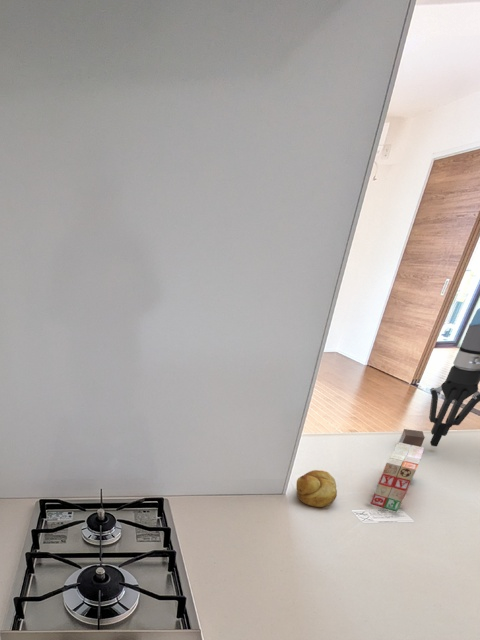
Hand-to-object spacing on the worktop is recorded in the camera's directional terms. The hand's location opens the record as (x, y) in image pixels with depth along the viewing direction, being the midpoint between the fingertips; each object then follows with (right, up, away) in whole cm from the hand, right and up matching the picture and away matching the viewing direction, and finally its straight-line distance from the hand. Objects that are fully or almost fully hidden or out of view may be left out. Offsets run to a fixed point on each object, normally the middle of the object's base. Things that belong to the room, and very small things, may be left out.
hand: (433, 444), depth 134 cm
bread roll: (-46, -17, -18) cm, 52 cm away
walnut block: (-5, -1, +3) cm, 6 cm away
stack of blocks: (-24, -15, -16) cm, 33 cm away
